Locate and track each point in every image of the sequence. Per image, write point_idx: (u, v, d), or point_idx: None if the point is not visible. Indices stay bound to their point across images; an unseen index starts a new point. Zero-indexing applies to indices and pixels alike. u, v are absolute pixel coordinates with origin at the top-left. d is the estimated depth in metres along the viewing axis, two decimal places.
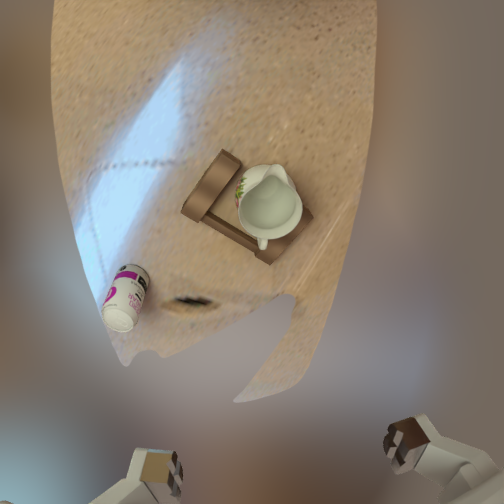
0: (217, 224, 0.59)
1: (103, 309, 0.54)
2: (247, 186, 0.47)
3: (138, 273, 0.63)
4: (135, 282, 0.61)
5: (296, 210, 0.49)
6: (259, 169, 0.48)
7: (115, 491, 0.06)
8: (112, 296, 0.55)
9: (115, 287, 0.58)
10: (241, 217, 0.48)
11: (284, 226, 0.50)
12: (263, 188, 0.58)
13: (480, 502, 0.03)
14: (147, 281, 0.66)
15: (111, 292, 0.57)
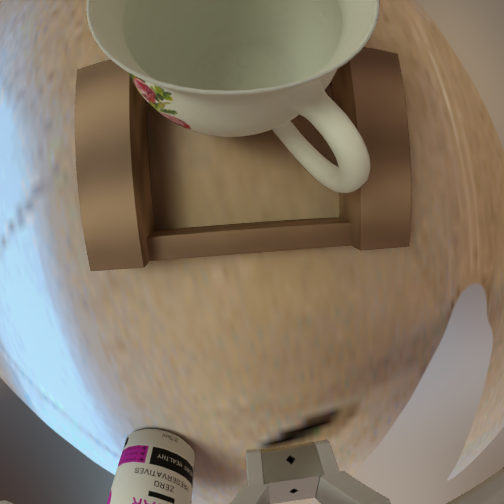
0: (201, 237, 0.19)
1: None
2: None
3: (150, 444, 0.24)
4: (143, 467, 0.21)
5: None
6: None
7: (242, 500, 0.06)
8: None
9: (111, 491, 0.18)
10: None
11: (349, 27, 0.08)
12: (244, 83, 0.19)
13: (480, 502, 0.03)
14: (183, 448, 0.25)
15: (107, 502, 0.17)
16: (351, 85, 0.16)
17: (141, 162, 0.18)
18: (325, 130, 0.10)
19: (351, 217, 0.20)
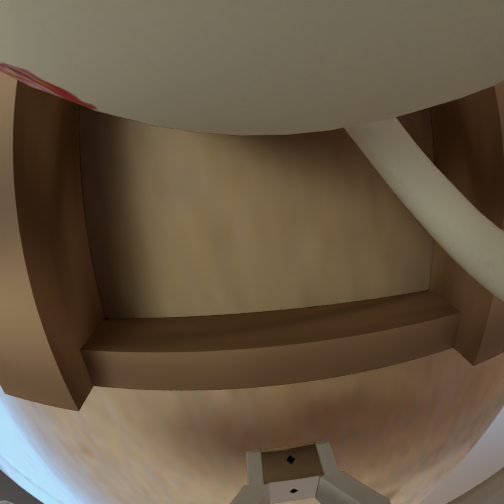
0: (183, 360, 0.09)
1: None
2: None
3: None
4: None
5: None
6: None
7: (241, 500, 0.06)
8: None
9: None
10: None
11: None
12: None
13: (480, 502, 0.03)
14: None
15: None
16: None
17: (56, 199, 0.08)
18: None
19: (461, 303, 0.09)
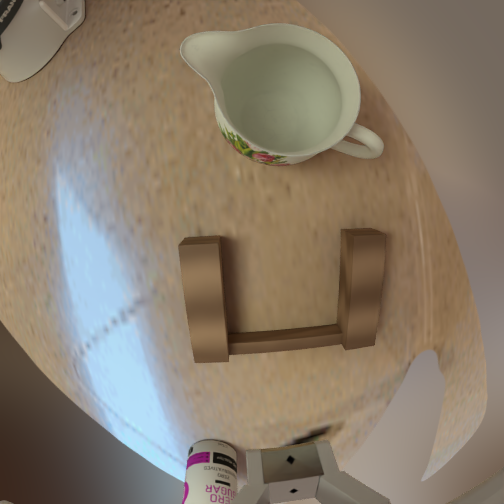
0: (259, 344, 0.34)
1: None
2: None
3: (211, 450, 0.38)
4: (209, 465, 0.35)
5: (313, 48, 0.18)
6: None
7: (241, 500, 0.06)
8: (185, 497, 0.30)
9: (187, 483, 0.32)
10: (287, 153, 0.20)
11: (342, 81, 0.19)
12: (278, 120, 0.30)
13: (480, 502, 0.03)
14: (231, 451, 0.40)
15: (184, 491, 0.31)
16: (352, 263, 0.31)
17: (224, 302, 0.33)
18: (359, 138, 0.21)
19: (342, 330, 0.34)
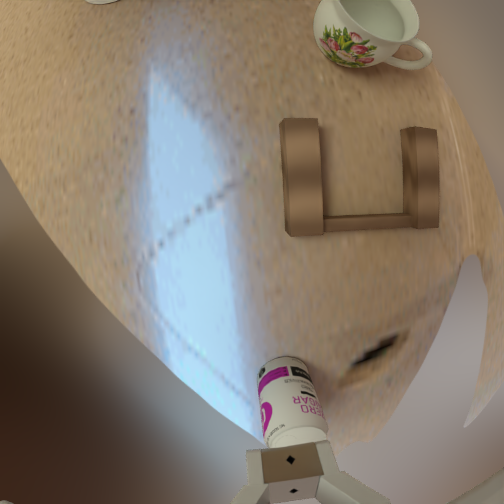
0: (347, 220, 0.36)
1: (267, 441, 0.30)
2: (337, 20, 0.23)
3: (287, 365, 0.41)
4: (290, 378, 0.37)
5: None
6: (317, 12, 0.25)
7: (241, 500, 0.06)
8: (270, 416, 0.32)
9: (267, 402, 0.35)
10: (381, 41, 0.22)
11: (404, 12, 0.21)
12: None
13: (480, 502, 0.03)
14: (305, 368, 0.42)
15: (265, 412, 0.34)
16: (415, 148, 0.33)
17: None
18: (418, 46, 0.23)
19: (411, 213, 0.36)
